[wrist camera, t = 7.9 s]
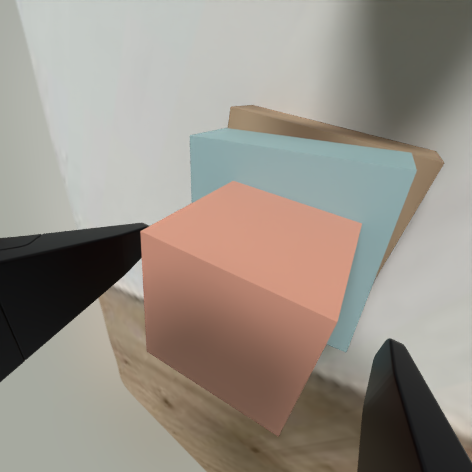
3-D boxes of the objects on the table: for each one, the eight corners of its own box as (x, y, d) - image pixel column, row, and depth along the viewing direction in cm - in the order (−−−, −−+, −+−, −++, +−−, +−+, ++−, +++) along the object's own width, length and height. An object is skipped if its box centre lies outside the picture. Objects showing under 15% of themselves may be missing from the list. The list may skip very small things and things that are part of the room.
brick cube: (362, 223, 9) (337, 322, 5) (317, 322, 12) (278, 436, 8) (233, 180, 11) (140, 231, 7) (219, 275, 13) (146, 351, 9)
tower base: (434, 149, 12) (444, 162, 10) (354, 292, 17) (348, 324, 15) (256, 104, 15) (230, 106, 13) (231, 238, 20) (208, 257, 17)
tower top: (411, 152, 10) (416, 170, 8) (354, 309, 14) (346, 352, 12) (226, 128, 13) (189, 135, 11) (221, 262, 17) (194, 289, 15)
